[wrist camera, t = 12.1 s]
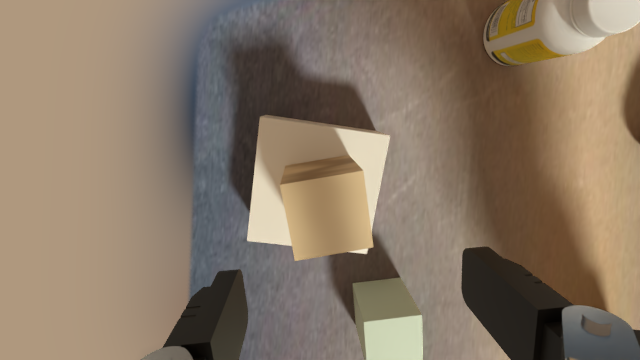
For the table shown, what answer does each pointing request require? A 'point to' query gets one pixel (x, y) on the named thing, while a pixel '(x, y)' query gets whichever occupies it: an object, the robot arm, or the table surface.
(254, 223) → the cream base block
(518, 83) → the table surface
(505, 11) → the supplement bottle
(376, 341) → the sage cube
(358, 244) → the oak cube
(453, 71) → the table surface
